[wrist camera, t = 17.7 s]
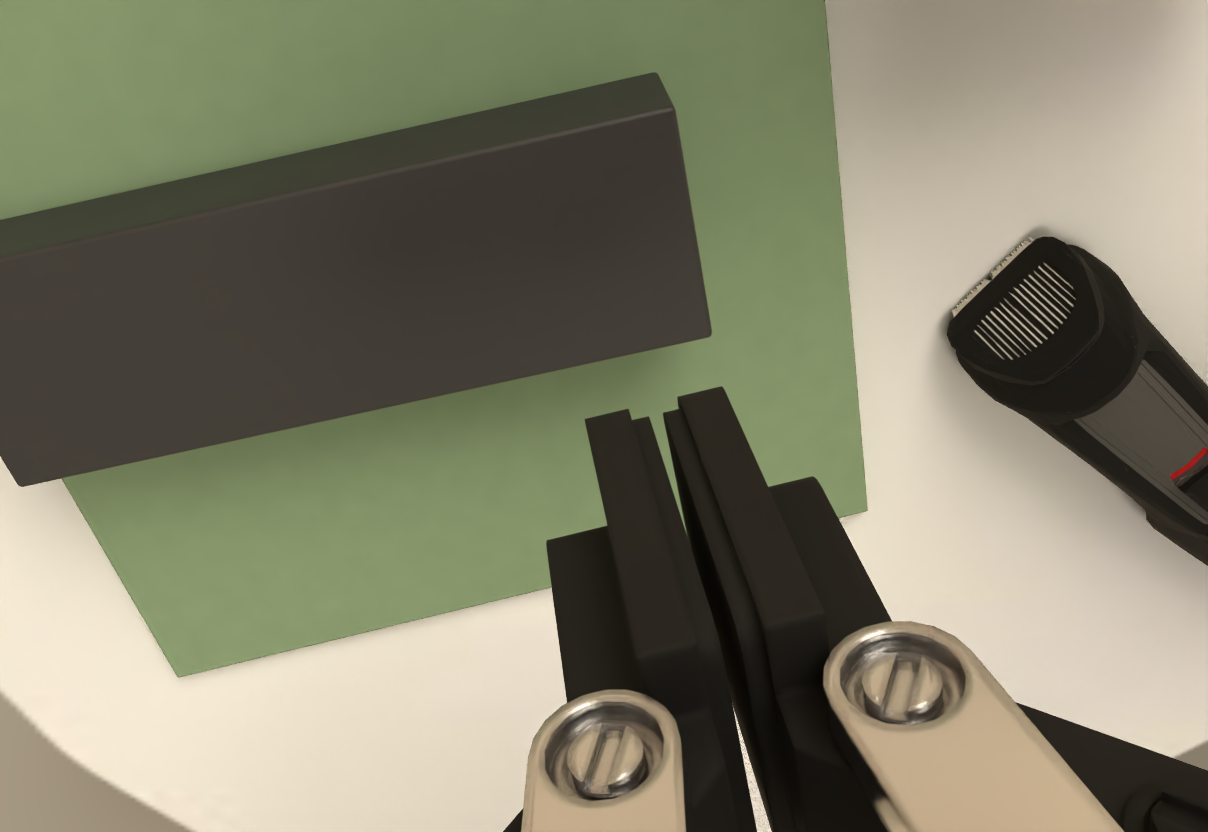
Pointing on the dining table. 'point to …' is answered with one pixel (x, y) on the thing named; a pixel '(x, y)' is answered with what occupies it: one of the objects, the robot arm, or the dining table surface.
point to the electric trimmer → (1093, 379)
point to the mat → (472, 417)
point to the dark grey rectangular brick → (347, 280)
